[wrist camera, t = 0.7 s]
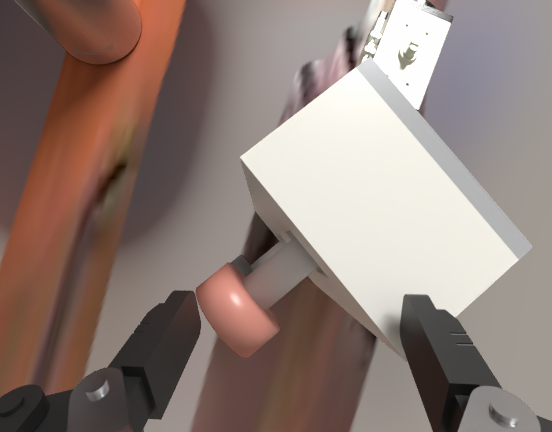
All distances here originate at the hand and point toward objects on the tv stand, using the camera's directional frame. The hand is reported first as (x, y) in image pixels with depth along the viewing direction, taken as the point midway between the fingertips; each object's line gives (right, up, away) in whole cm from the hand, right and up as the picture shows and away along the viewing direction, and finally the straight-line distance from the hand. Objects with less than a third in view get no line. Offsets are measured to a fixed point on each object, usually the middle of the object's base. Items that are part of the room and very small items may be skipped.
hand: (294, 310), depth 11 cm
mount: (+2, +2, +21) cm, 21 cm away
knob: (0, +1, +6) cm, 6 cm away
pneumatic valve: (+8, +15, +22) cm, 28 cm away
